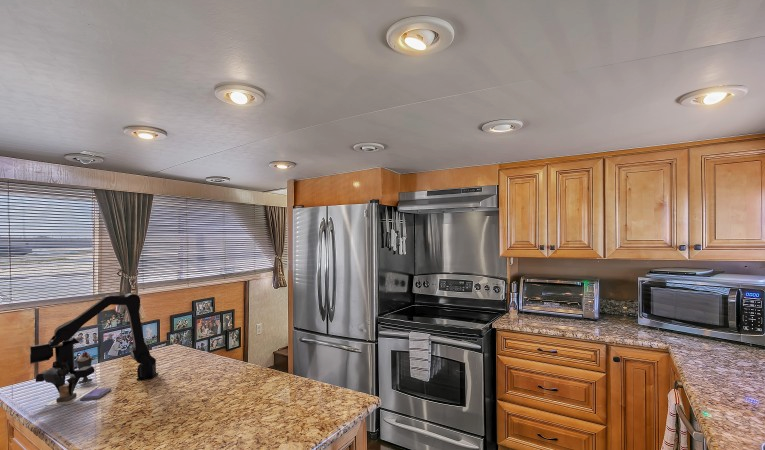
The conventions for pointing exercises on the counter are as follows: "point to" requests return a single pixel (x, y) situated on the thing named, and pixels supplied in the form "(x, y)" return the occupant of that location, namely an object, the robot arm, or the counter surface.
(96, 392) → the ink pad
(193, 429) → the counter surface
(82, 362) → the sundae
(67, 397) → the stamp
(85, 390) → the form sheet
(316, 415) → the counter surface
